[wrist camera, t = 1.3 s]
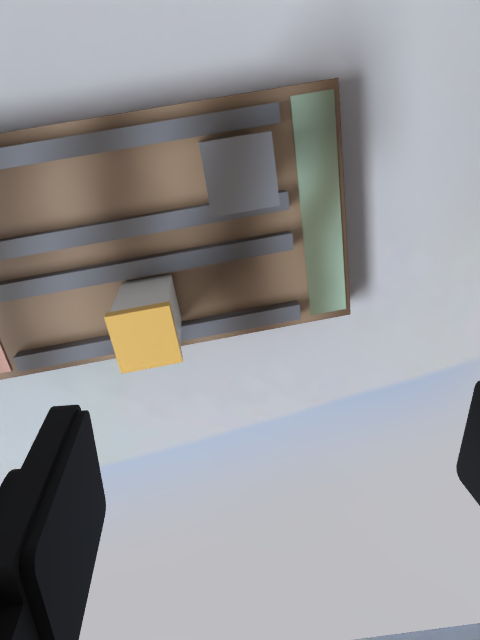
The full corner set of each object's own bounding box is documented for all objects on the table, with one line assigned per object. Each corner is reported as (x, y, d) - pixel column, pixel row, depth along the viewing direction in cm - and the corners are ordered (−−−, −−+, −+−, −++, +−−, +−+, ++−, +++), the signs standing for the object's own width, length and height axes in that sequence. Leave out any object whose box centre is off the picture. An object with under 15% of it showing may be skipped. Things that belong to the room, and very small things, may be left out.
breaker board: (327, 81, 25) (380, 63, 18) (340, 303, 31) (385, 353, 24) (-113, 153, 24) (-231, 162, 17) (-15, 369, 30) (-75, 441, 23)
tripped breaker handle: (172, 271, 27) (169, 305, 21) (183, 319, 28) (182, 362, 23) (119, 281, 26) (103, 317, 21) (133, 328, 28) (121, 373, 23)
